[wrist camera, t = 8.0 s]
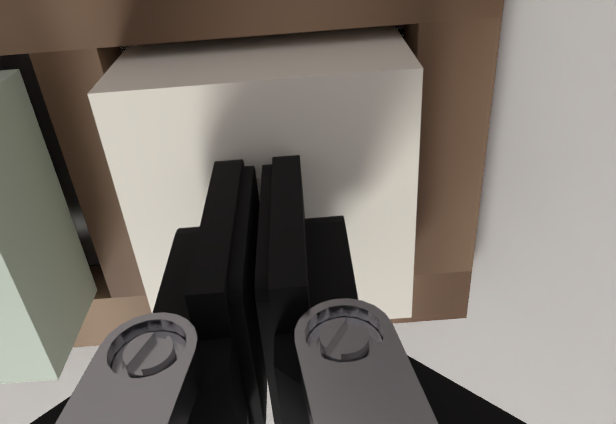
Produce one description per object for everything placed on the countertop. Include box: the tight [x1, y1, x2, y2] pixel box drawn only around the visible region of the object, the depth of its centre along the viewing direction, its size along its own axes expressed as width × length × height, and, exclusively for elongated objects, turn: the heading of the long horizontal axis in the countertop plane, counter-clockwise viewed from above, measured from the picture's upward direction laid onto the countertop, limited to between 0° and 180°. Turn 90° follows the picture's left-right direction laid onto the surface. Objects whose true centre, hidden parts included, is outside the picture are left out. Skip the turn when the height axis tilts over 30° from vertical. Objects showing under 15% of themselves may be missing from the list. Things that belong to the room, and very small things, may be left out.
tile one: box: [87, 26, 423, 319], centre depth 13 cm, size 6×6×3 cm
